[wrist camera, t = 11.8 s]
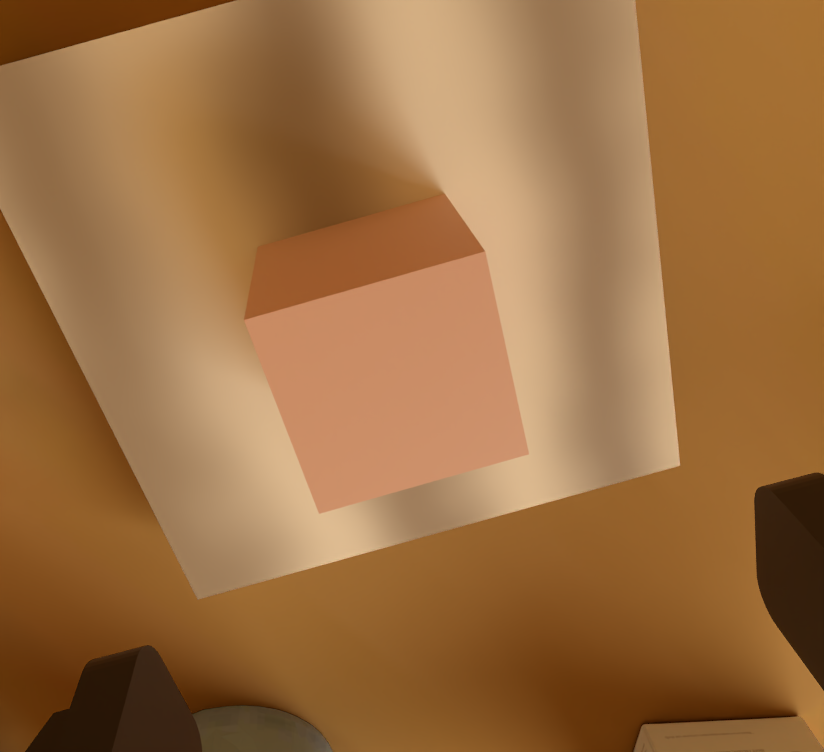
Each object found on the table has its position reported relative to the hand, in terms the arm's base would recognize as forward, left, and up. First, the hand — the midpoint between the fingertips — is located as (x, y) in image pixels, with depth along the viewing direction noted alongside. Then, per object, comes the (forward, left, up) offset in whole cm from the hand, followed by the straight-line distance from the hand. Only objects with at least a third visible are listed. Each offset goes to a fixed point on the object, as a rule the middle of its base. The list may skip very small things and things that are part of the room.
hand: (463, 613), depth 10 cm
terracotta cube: (0, 0, -12) cm, 12 cm away
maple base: (0, 0, -15) cm, 15 cm away
